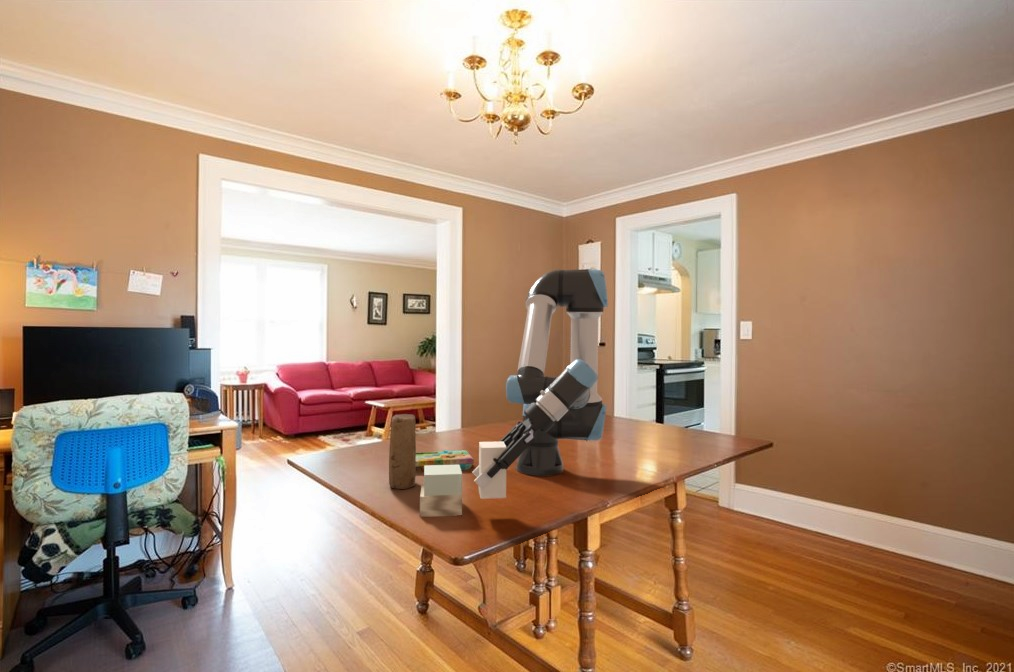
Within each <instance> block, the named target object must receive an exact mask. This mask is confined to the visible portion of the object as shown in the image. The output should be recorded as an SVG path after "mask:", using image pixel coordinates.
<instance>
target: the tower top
mask: <svg viewBox="0 0 1014 672" xmlns="http://www.w3.org/2000/svg"><path fill="white" fill-rule="evenodd" d="M423 484H424V496H439V495H462V496H463V472H462V470H461V468H460V465H424V472H423Z"/></svg>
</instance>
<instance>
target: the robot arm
mask: <svg viewBox="0 0 1014 672" xmlns="http://www.w3.org/2000/svg"><path fill="white" fill-rule="evenodd" d="M608 298H609V297H608V290H607V283H606V274H605V272H604V271H603V270H601V269H590V268H588V269H587V268H586V269H585V268H584V269H554V270H550V271H548V272H546V273H544V274H543V275H541V276H540V277H539V278H537V280H535V282H534V283H533V284H532V286H531V287H530V289H529V290H528V292H527V295H526V300H525V309H526V310H527V312H526V319H525V324H524V330H523V337H522V341H521V342H522V343H521V346H520V353H519V359H518V365H517V370H516V372H517V373H516V374H513V375H508V378H507V379H506V384H505V397H506V399H507V401H508V402H509V403H511V404H519V405H523V408H522V415H521V416H522V422H521V421H517V422H516V424H515V425H514V426H513V428H511V429H510V431H508V432H507V433H506V434H505V435H504V436H503V437H502V438H501V439H500V440H499V441H503V442H504V443H505V445H506V447H507V448H506V449H505V451H504V452H503V453H502V454H501V455H500V456H499V457H498V459H496V458H493V460H494V461H493V462H492V463H491V464H490V465H489V466H488V467H487V468H486V469H485V470H484V471H483V472H482V473H481V474H480V475H479V465H477V466H476V468H474V469H473V471H471V472H472V474H473V475H474V476H475V477H476V478H475V479H474V480H473V482H474V483H475V484H476V485H477V486H478V488H479V487H480V488H482V489H483V488H484V487H485V486H486V485H487V484H488V483H489V482H490V481H491V480H492V479H493V478H494V477H495V476H496V475H497V474H498V473H499V472H500V471H501V470H502V469H506V470H507V469H508V468H509V467H510V466H511V465H512V464H513V463H514V462H515V461H516V471H518V472H519V473H521V474H525V475H528V476H529V475H530V476H537V477H545V476H546V477H547V476H548V475H549V476H555V474H556V475H559V474H558V473H560V472H562V471H563V472H564V462H563V460H562V459H563V458H562V456H561V453H560V449H559V439H560V440H570V441H571V440H573V441H585V442H588V441H591V442H592V441H595V442H597V441H600V440H601V439H602V438H603V433H604V429H605V428H604V426H605V422H606V421H605V420H606V412H607V404H605V403H603V398H602V396H600V395H599V393H598V379H599V376H598V374H599V373H598V372H599V369H598V368H599V366H598V364H599V362H598V361H599V318H600V317H601V316H602V315H603V314H604V310H605V309H604V308H607V307H609V299H608ZM557 307H560V308H561V307H565V312H566V314H567V315H568V316H569V317H570V364H568V365H567V366H566V368H565V369H564V370H562V372H561V373H560V374H558V376H545V373H546V372H545V371H546V366H547V355H548V349H549V341H550V334H551V333H550V332H551V325H552V317H553V314H554V313H555V312H556V310H557ZM563 472H562V473H563ZM560 474H561V473H560Z"/></svg>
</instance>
